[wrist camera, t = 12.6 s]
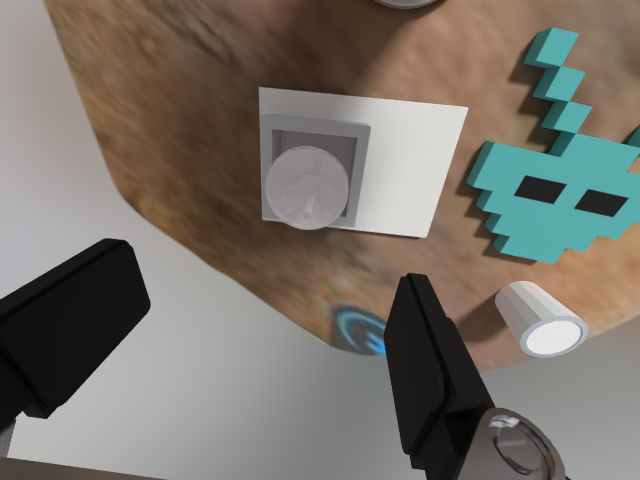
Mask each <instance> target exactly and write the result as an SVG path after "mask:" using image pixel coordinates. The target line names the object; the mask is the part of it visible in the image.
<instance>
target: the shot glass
mask: <svg viewBox="0 0 640 480" xmlns="http://www.w3.org/2000/svg"><path fill="white" fill-rule="evenodd" d="M495 304H496V307H497V309H498V310H499V312H500V314H501V315H502V317H503V319H504V320H505V322H506V324H507V325H508V327H509V329H510V330H511V332H512V334H513V335H514V337H515V339H516V340H517V342H518V344H519V345H520V347H521V349H522V350H523V351H524V352H526V353H527V354H528V355H532V356H535V357H553V356H558V355H562V354H565V353H567V352H569V351H571V350H573V349H575V348H576V347H577V346H579V345H580V344H581V343H582V342H583V341H584V340H585V338H586V336H587V334H588V326H587V324H586V323H585V322H584V321H583V320H582V319H581V318H579V317H578V316H577V315H575V314H574V313H573V312H571V311H570V310H569V309H567V308H566V307H565V306H563V305H562V304H561V303H559V302H558V301H557V300H555V299H554V298H553V297H551V296H550V295H549V294H547V293H546V292H545V291H544V290H542V289H541V288H540V287H538V286H537V285H536V284H534V283H532V282H528V281H517V282H514V283H511V284H508V285H506V286H505V287H503V288H502V289H501V290H500V291H499V292H498V293H497V294H496V297H495Z"/></svg>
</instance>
